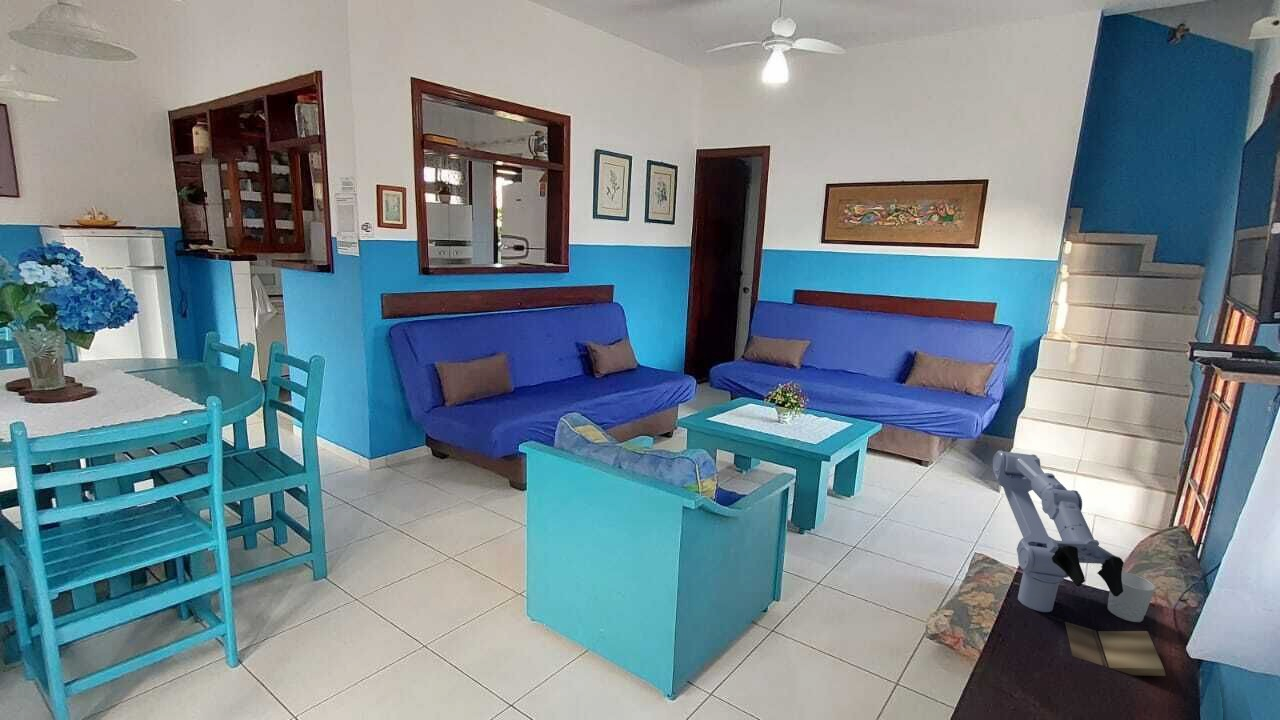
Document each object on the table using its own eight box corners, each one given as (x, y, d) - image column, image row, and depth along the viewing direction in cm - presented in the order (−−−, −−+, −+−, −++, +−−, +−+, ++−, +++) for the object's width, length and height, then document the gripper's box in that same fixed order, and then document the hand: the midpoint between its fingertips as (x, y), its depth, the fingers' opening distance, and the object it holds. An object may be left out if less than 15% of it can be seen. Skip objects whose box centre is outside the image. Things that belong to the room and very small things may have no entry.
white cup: (1099, 616, 152) (1109, 578, 150) (1107, 604, 157) (1117, 568, 155) (1140, 633, 146) (1151, 594, 144) (1147, 621, 152) (1158, 583, 149)
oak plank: (1099, 637, 143) (1097, 631, 143) (1148, 637, 139) (1147, 631, 139) (1110, 674, 131) (1109, 667, 131) (1165, 675, 127) (1164, 668, 127)
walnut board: (1063, 627, 146) (1064, 621, 146) (1094, 636, 144) (1096, 630, 143) (1071, 662, 134) (1072, 655, 134) (1105, 673, 131) (1107, 666, 131)
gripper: (1052, 514, 137) (1075, 567, 126) (1120, 531, 136) (1148, 586, 125) (1034, 534, 141) (1054, 587, 130) (1100, 551, 141) (1125, 606, 130)
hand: (1099, 588), depth 128 cm, fingers open, 7 cm apart
